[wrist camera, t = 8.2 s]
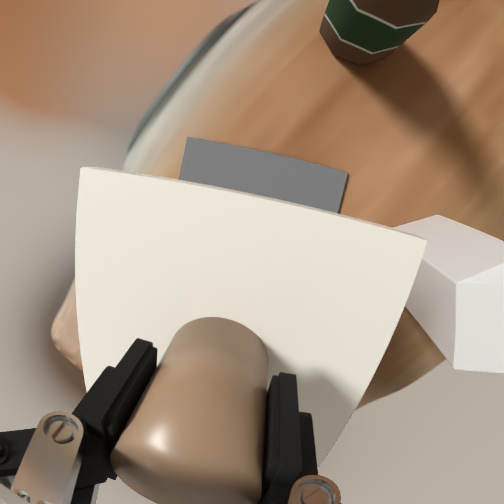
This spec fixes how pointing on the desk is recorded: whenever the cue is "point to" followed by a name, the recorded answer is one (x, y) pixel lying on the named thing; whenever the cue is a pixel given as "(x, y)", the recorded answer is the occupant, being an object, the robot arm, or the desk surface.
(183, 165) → the mat
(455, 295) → the milk carton
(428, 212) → the desk surface
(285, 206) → the cover
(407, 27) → the beer bottle
